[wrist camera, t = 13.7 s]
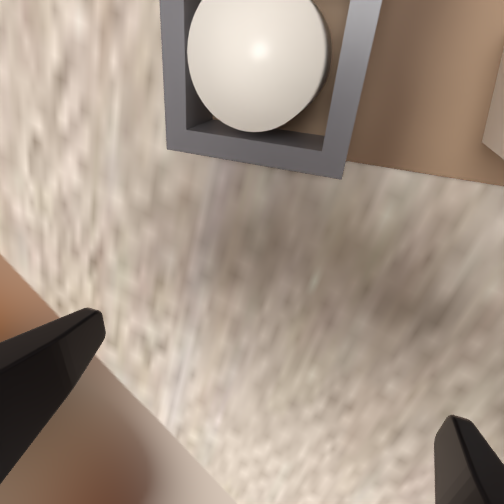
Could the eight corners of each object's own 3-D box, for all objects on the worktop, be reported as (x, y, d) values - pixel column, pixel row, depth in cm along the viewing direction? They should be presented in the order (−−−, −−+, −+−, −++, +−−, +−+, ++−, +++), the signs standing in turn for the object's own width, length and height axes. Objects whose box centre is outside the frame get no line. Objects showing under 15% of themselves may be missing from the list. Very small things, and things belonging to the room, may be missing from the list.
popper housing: (395, -58, 12) (401, -86, 10) (345, 160, 17) (341, 179, 14) (193, -63, 14) (155, -89, 12) (194, 136, 18) (166, 149, 16)
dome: (344, -10, 13) (336, -28, 10) (319, 125, 16) (308, 141, 13) (222, -17, 14) (186, -35, 11) (219, 111, 17) (188, 122, 14)
